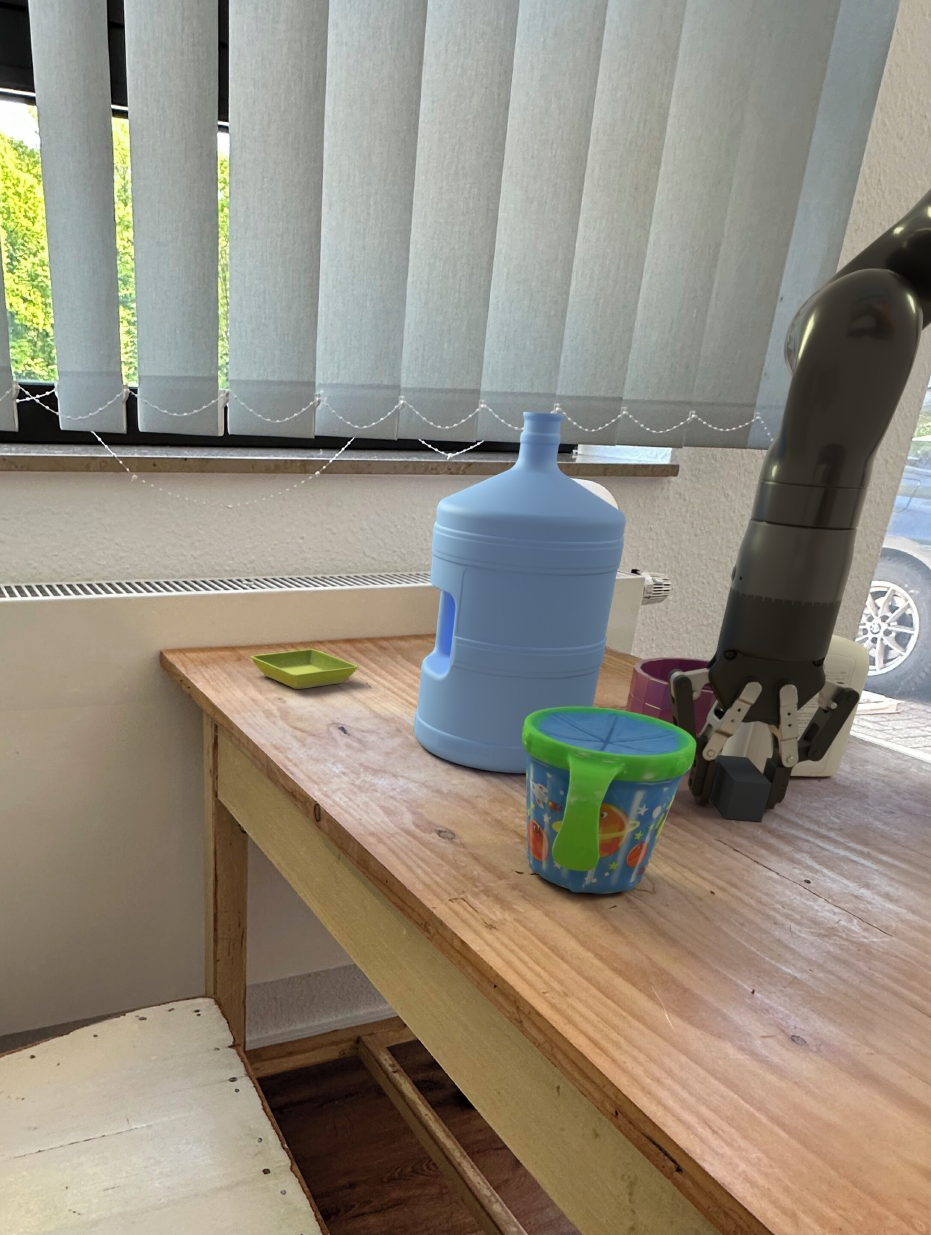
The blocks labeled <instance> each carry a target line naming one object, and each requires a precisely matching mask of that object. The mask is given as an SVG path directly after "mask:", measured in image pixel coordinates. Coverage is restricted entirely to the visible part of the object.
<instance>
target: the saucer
mask: <svg viewBox="0 0 931 1235" xmlns="http://www.w3.org/2000/svg"><path fill="white" fill-rule="evenodd" d="M250 659H251V660H252V662H253V663H254V665H255V666H256V667H257V669H258V670H259V671H260V672H262V674H263V675H264V676H265V677H268V678H270V679H273V680H275V681H277V682H279V683H281V684H283V685H286V686H288V687H290V688H292V689H295V690H302V689H310V688H316V687H324V686H331V685H337V684H341V683H343V682H345V681H346V680H347V679H349V678H350V677H351V676H353V674H354V673H355V672H356V671H358V668H359V666H358V665H357V664H354V663H352V662H350V661H347V660H344V659H341V658H339V657H336V656H334V655H331V654H328V653H326V652H323V651H320V650H318V649H315V648H308V649H306V648H305V649H298V650H290V651H289V650H288V651H281V652H280V651H279V652H272V653H263V654H256V655H255V654H254V655H250Z"/></svg>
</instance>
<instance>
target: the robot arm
mask: <svg viewBox="0 0 931 1235" xmlns="http://www.w3.org/2000/svg"><path fill="white" fill-rule="evenodd" d="M930 325H931V187H930V188H929V189H928V190H927V191H926V192H925V194H924V195H922V197H921V198H920V199H919V200H918V201H917V202H916V203H915V204H914V206H912V208H911V209H910V210H909V211H908V212H907V213H905V215H904V216H902V217H901V218H900V219H899V220H897V222H895V223H894V224H893V225H891V227H890V228H888V229H887V230H886V231H884V232H883V233H882V234H881V235H879V237H877V238H876V239H875V240H874V241H872V242H871V243H870V244H868V246H866V247H865V248H864V249H863V250H862V251H860V252H859V253H858V254H857V255H855V256H854V257H853V258H852V259H851V260H850V261H849V262H847V263H846V264H845V265H844V266H843V267H842V268H841V269H839V270H838V271H836V273H835V274H833V275H832V277H830V278H829V279H827V280H826V281H825V282H824V283H823V284H822V285H821V286H820V287H818V289H817V290H815V291H814V292H813V293H812V294H811V295H810V296H809V297H808V298H807V299H806V300H805V301H804V302H803V303H802V304H801V306H799V308H798V309H797V311H796V312H795V314H794V315H793V317H792V319H791V321H790V323H789V325H788V328H787V330H786V333H785V338H784V343H783V357H784V358H783V359H784V363H785V366H786V369H787V372H788V373H789V374H790V376H791V380H790V383H789V388H788V392H787V395H786V396H787V397H786V401H785V405H784V409H783V413H782V418H781V422H780V427H779V431H778V432H777V435H776V436H775V438H774V439H773V441H772V442H771V443H770V445H769V446H768V449H767V450H766V454H765V456H764V458H763V462H762V465H761V468H760V469H761V470H760V473H759V476H758V481H757V484H756V490H755V494H754V498H753V502H752V507H751V511H750V515H749V516H750V518H749V520H748V523H747V527H746V529H745V533H744V536H743V538H742V540H741V543H740V545H739V548H738V552H737V556H736V561H735V564H734V566H733V567H732V570H731V575H730V580H731V583H730V587H729V591H728V595H727V601H726V605H725V609H724V614H723V618H722V622H721V627H720V632H719V635H718V640H717V645H716V650H715V653H714V654H713V656H712V658H710V660H709V662H708V664H707V666H706V668H704V669H698V670H693V671H688V672H683V671H682V670H680V669H674V670H672V671H671V672H670V673H669V675H668V684H669V694H670V704H671V715H672V724H673V725H675V726H677V727H679V728H681V729H683V730H685V731H686V732H688V733H689V734H690V735H691V736H692V737H693V738H694V739H695V742H696V751H695V757H694V761H693V764H692V766H691V768H690V771H689V776H688V781H687V787H688V790H689V792H690V793H691V795H692V796H693V798H694V799H695V801H696V802H697V803H698V804H703V805H708V804H709V803H710V800H711V798H710V796H711V792H712V788H713V784H714V779H715V775H716V771H717V767H718V763H719V762H718V761H717V760H716V758H717V756H718V755H720V754H721V752H722V750H723V746H724V745H725V743H726V741H727V740H728V738H729V737H731V736H733V735H734V733H735V732H736V730H737V728H738V727H739V725H740V723H741V722H742V723H749V722H756V721H759V722H762V723H765V724H768V728H769V730H770V736H771V749H772V758H767V760H766V763H765V767H764V771H763V775H764V776H765V777H766V778H767V779H768V781H769V782H770V783H771V788H770V792H769V796H768V800H767V803H766V807H765V810H768V811H769V810H771V811H773V810H774V809H775V807H776V804H781V803H782V802H783V800H784V799H785V797H786V794H787V790H788V786H789V782H790V779H791V776H790V775H791V772H792V769H793V767H794V766H795V765H796V764H797V763H799V762H803V761H807V760H811V761H813V762H816V761H819V760H821V759H822V758H823V757H824V755H825V754H826V752H827V750H828V749H829V747H830V746H831V744H832V742H833V741H834V739H835V738H836V736H837V734H838V733H839V731H840V730H841V728H842V726H843V725H844V723H845V722H846V720H847V718H848V717H849V715H850V714H851V712H852V710H853V709H854V707H855V706H856V704H857V702H858V701H859V698H860V696H859V693H858V692H857V691H855V690H854V689H853V688H852V687H850V686H849V685H847V684H845V683H843V682H833V681H830V680H828V679H826V676H825V673H824V668H823V663H824V660H825V657H826V655H827V653H828V649H829V646H830V642H831V638H832V635H834V631H835V627H836V624H837V620H838V617H839V616H838V615H839V613H840V609H841V605H842V603H843V597H844V594H845V590H846V587H847V583H848V580H849V575H850V572H851V568H852V565H853V564H852V563H853V558H854V553H855V544H856V538H857V537H856V536H857V533H858V527H859V525H860V521H861V518H862V513H863V510H864V506H865V503H866V500H867V496H868V491H869V488H870V483H871V478H872V475H873V470H874V464H875V461H876V457H877V455H878V451H879V449H880V447H881V445H882V442H883V440H884V439H885V436H886V434H887V432H888V429H889V428H890V425H891V423H892V420H893V418H894V416H895V413H896V410H897V408H898V406H899V403H900V401H901V398H902V397H903V394H904V391H905V389H906V386H907V384H908V381H909V378H910V376H911V374H912V370H913V367H914V364H915V361H916V358H917V355H918V351H919V347H920V342H921V337H922V334H923V333H922V332H923V331H924V330H925V329H927V328H928V326H930ZM707 683H709V685H710V687H711V689H712V691H713V693H714V695H715V697H716V699H717V700H716V702H715V703H714V705H713V707H712V709H711V710H710V712H709V714H708V716H707V721H706V724H705V725H704V727H703V729H702V730H701V732H700V734H697V733H696V726H695V715H694V703H693V700H695V699H697V698H699V697H700V695H701V690H702V687H703V686H704V685H705V684H707ZM818 692H819V697H818V699H817V703H818V705H819V708H818V709H817V711H816V712H815V714H814V716H813V717H812V719H811V721H810V722H809V724H808V726H807V727H806V729H805V731H804V732H803V734H802V736H801V737H800V739H799V740H798V741H797V738H798V737H799V728H798V713H797V711H798V710H799V709H801V708H802V707H803V706H804V705H805V704H806V703H807V702H808V701H809V700H811V699H812V698H813V697H814V696H815V695H816V694H817V693H818ZM860 699H861V698H860ZM859 702H860V701H859ZM732 719H733V720H732Z"/></svg>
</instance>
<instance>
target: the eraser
mask: <svg viewBox="0 0 931 1235" xmlns="http://www.w3.org/2000/svg"><path fill="white" fill-rule="evenodd" d="M716 760H717V761H718V762H719V763H718V767H717V771H716V775H715V779H714V784H713V788H712V792H711V796H710V800H711V802H712V803H713V804H714V805H715V807H716V808H717V810H718V811H719V813H720V814H721V815H722V817H723V818H724V819H725V820H734V821H735V820H736V821H747V822H748V821H749V822H759V823H762V821H763V818H764V814H765V811H766V809H765V807H766V803H767V800H768V796H769V792H770V788H771V783H770V782H769V781H768V779H767V778H766V777H765V776H764V775H763V774H762V773H761V772H760V771H759V769H758V768H757V767H756V766H755V765H754V764H753V763H752V762H751V761H750V759H749V758H748V757H737V756H725V755H722V754H719V755H718V756H717V758H716Z"/></svg>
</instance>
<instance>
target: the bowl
mask: <svg viewBox="0 0 931 1235" xmlns="http://www.w3.org/2000/svg"><path fill="white" fill-rule="evenodd" d="M709 661H710V660H708V659H701V658H691V657H690V658H689V657H653V658H645V659H642V660H639V661H637V662H635V664H634V666H633V670H632V674H631V680H630V685H629V691H628V696H627V702H626V706H625V711H628V712H633V713H638V714H642V715H646V716H649V717H653V718H656V719H660V720H663V721H665V722H668V723H671V724H672V715H671V704H670V694H669V684H668V675H669V673H670V672H671V671H672V670H674V669H680V670H682V671H683V672H688V671H693V670H698V669H704V668H706V666H707V664H708V662H709ZM716 700H717V699H716V697H715V695H714V693H713V691H712V689H711V687H710V685H709V683H707V684H705V685H704V686H703V687H702V690H701V695H700V697H699V698H697V699H695V700H693V703H694V715H695V726H696V733H697V734H700V732H701V730H702V729H703V727H704V725H705V724H706V721H707V716H708V714H709V712H710V710H711V709H712V707H713V705H714V703H715V702H716Z"/></svg>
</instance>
